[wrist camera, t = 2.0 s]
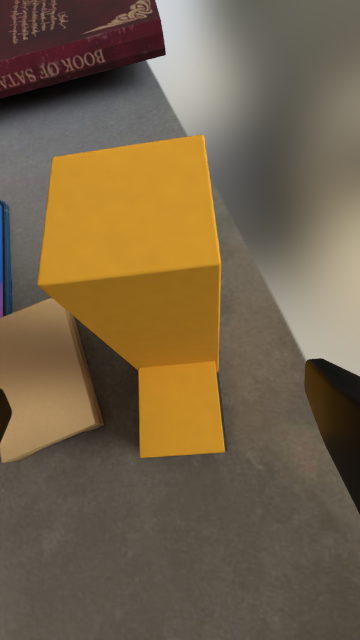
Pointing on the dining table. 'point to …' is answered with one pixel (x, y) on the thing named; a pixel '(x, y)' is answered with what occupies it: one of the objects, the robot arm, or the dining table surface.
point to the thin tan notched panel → (44, 380)
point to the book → (73, 39)
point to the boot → (145, 278)
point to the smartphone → (5, 262)
